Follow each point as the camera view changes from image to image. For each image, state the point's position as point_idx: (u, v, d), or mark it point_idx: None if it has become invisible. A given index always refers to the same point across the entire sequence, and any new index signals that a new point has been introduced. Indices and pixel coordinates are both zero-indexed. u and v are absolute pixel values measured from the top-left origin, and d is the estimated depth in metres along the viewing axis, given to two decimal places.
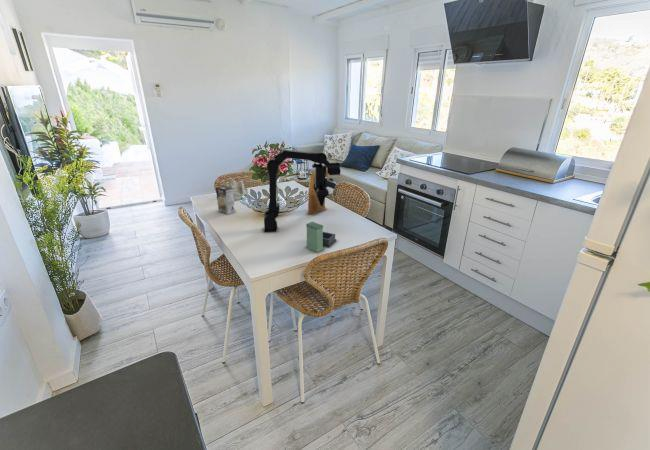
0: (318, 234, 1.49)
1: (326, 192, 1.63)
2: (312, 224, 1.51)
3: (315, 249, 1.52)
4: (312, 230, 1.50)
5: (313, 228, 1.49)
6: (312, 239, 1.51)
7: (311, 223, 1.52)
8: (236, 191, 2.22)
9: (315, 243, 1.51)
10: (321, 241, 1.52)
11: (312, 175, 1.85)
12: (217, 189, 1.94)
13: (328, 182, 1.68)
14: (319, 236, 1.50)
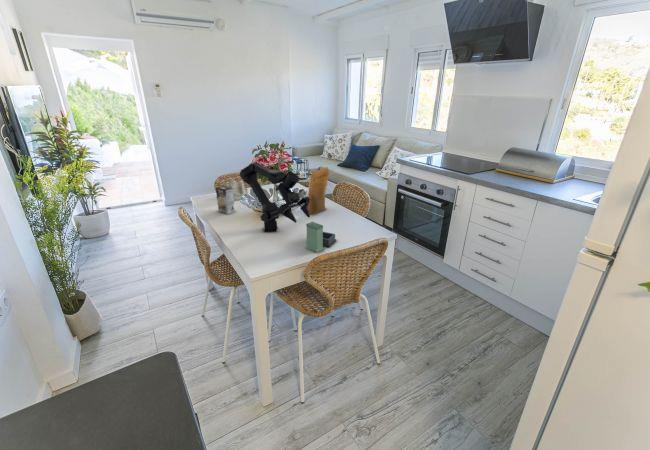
0: (318, 234, 1.49)
1: (281, 207, 1.49)
2: (312, 224, 1.51)
3: (315, 249, 1.52)
4: (312, 230, 1.50)
5: (313, 228, 1.49)
6: (312, 239, 1.51)
7: (311, 223, 1.52)
8: (236, 191, 2.22)
9: (315, 243, 1.51)
10: (321, 241, 1.52)
11: (312, 175, 1.85)
12: (217, 189, 1.94)
13: (290, 196, 1.53)
14: (319, 236, 1.50)
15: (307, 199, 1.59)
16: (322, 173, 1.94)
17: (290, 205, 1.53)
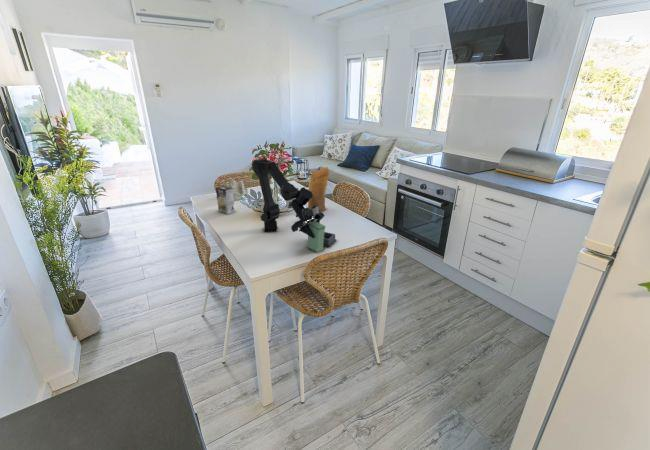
0: (320, 234, 1.49)
1: (295, 224, 1.45)
2: (314, 224, 1.50)
3: (315, 249, 1.52)
4: (314, 230, 1.49)
5: (315, 228, 1.48)
6: (313, 239, 1.51)
7: (313, 222, 1.51)
8: (236, 191, 2.22)
9: (316, 243, 1.51)
10: (322, 241, 1.52)
11: (312, 175, 1.85)
12: (217, 189, 1.94)
13: (304, 212, 1.49)
14: (321, 236, 1.50)
15: (321, 215, 1.56)
16: (322, 173, 1.94)
17: (307, 221, 1.51)
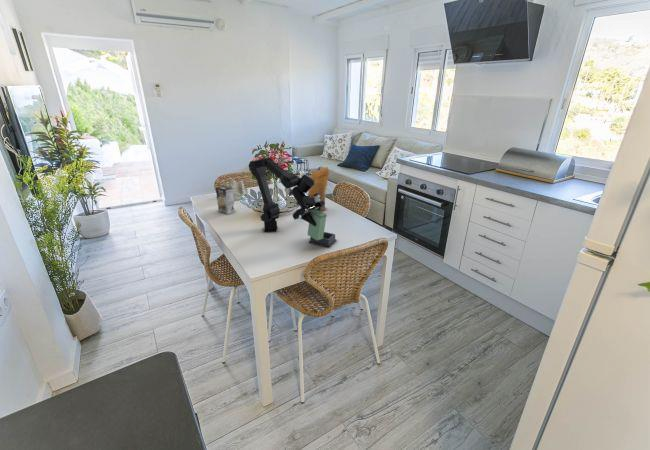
0: (321, 222, 1.48)
1: (297, 212, 1.44)
2: (316, 212, 1.49)
3: (316, 237, 1.51)
4: (316, 218, 1.48)
5: (316, 216, 1.48)
6: (314, 227, 1.50)
7: (315, 211, 1.51)
8: (236, 191, 2.22)
9: (316, 231, 1.50)
10: (322, 230, 1.51)
11: (312, 175, 1.85)
12: (217, 189, 1.94)
13: (306, 200, 1.48)
14: (322, 224, 1.49)
15: (322, 203, 1.55)
16: (322, 173, 1.94)
17: (309, 208, 1.50)
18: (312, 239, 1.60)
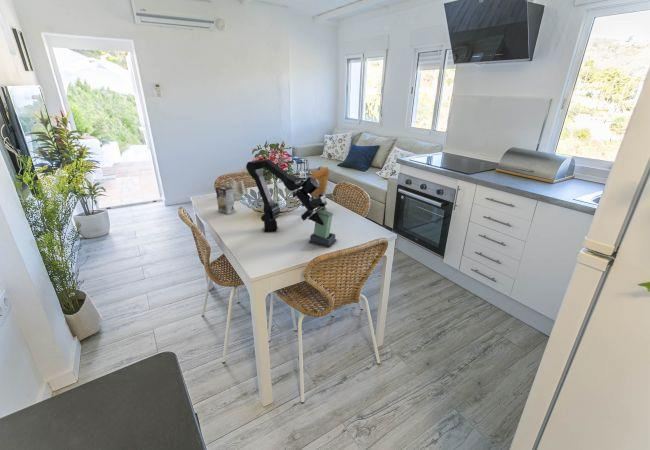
0: (328, 221, 1.55)
1: (307, 213, 1.49)
2: (322, 211, 1.56)
3: (323, 236, 1.58)
4: (323, 217, 1.55)
5: (324, 215, 1.54)
6: (321, 226, 1.57)
7: (321, 210, 1.57)
8: (236, 191, 2.22)
9: (324, 230, 1.57)
10: (329, 228, 1.58)
11: (312, 175, 1.85)
12: (217, 189, 1.94)
13: (312, 201, 1.54)
14: (329, 223, 1.56)
15: (325, 203, 1.62)
16: (322, 173, 1.94)
17: (315, 209, 1.56)
18: (312, 239, 1.60)
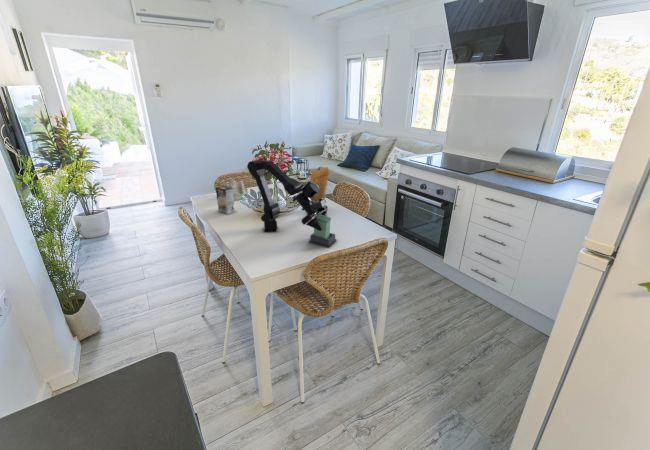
0: (327, 226, 1.55)
1: (307, 217, 1.50)
2: (320, 217, 1.55)
3: None
4: (321, 223, 1.55)
5: (322, 221, 1.54)
6: (320, 231, 1.57)
7: (319, 216, 1.56)
8: (236, 191, 2.22)
9: (323, 235, 1.57)
10: (328, 232, 1.59)
11: (312, 175, 1.85)
12: (217, 189, 1.94)
13: (312, 205, 1.55)
14: (327, 228, 1.56)
15: (325, 207, 1.63)
16: (322, 173, 1.94)
17: None
18: (312, 239, 1.60)
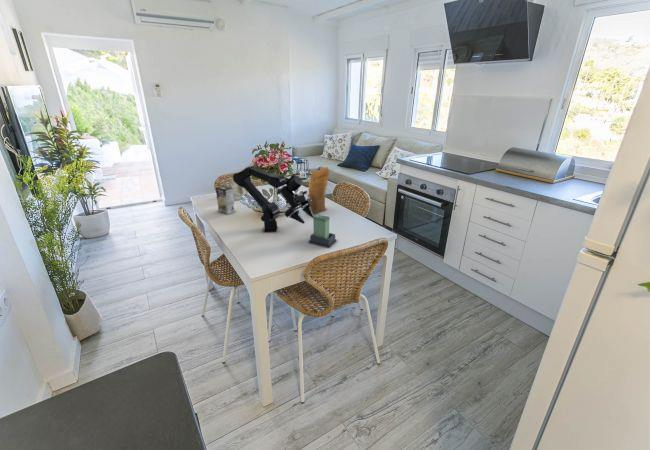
0: (326, 225, 1.56)
1: (290, 210, 1.53)
2: (319, 216, 1.57)
3: None
4: (320, 222, 1.56)
5: (321, 220, 1.55)
6: (320, 231, 1.58)
7: (317, 216, 1.58)
8: (236, 191, 2.22)
9: (323, 234, 1.58)
10: (328, 232, 1.59)
11: (312, 175, 1.85)
12: (217, 189, 1.94)
13: (296, 198, 1.58)
14: (327, 227, 1.57)
15: (309, 200, 1.66)
16: (322, 173, 1.94)
17: (296, 207, 1.58)
18: (312, 239, 1.60)
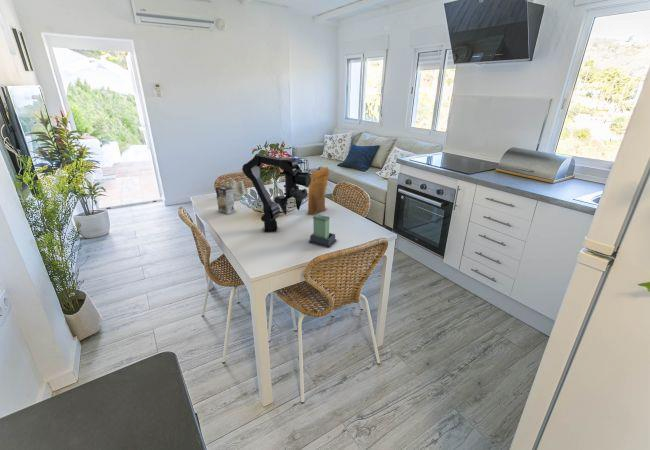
0: (326, 225, 1.56)
1: (279, 201, 1.54)
2: (319, 216, 1.57)
3: None
4: (320, 222, 1.56)
5: (321, 220, 1.55)
6: (320, 231, 1.58)
7: (317, 216, 1.58)
8: (236, 191, 2.22)
9: (323, 234, 1.58)
10: (328, 232, 1.59)
11: (312, 175, 1.85)
12: (217, 189, 1.94)
13: (293, 192, 1.57)
14: (327, 227, 1.57)
15: (305, 195, 1.65)
16: (322, 173, 1.94)
17: (288, 198, 1.59)
18: (312, 239, 1.60)
